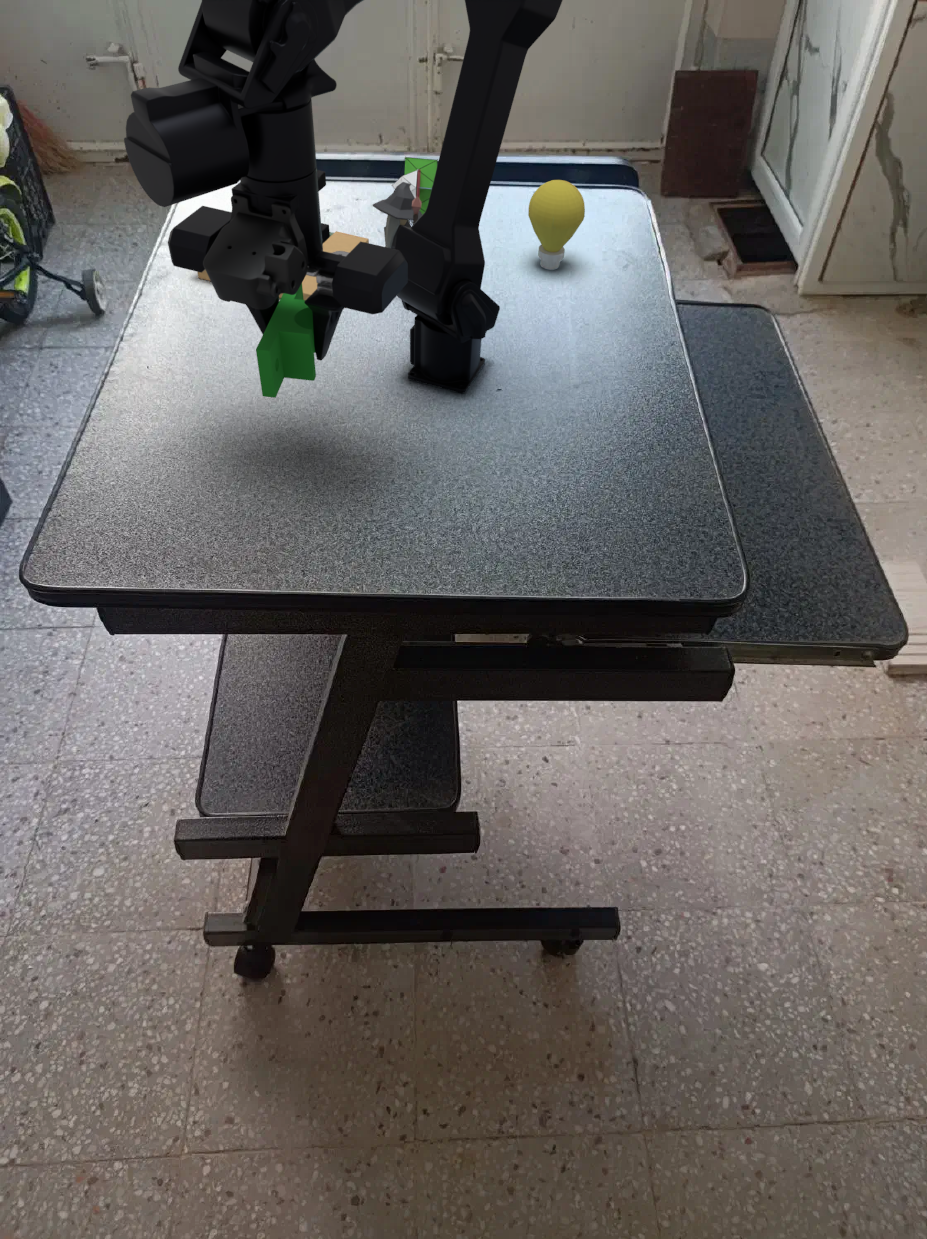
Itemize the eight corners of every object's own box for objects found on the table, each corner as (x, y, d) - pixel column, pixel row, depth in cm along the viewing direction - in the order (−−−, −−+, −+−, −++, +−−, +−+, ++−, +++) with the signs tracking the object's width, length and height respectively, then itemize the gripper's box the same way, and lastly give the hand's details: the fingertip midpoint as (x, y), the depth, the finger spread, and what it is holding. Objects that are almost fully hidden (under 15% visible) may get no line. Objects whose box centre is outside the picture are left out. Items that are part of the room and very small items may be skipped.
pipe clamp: (306, 402, 75) (301, 354, 72) (262, 397, 75) (255, 349, 72) (334, 330, 83) (330, 283, 79) (294, 325, 83) (289, 279, 79)
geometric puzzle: (399, 176, 121) (393, 140, 113) (450, 180, 121) (447, 144, 113) (393, 227, 120) (387, 194, 112) (444, 231, 120) (441, 199, 112)
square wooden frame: (369, 250, 111) (368, 238, 110) (313, 307, 102) (312, 295, 101) (262, 225, 114) (260, 213, 113) (198, 278, 105) (196, 266, 104)
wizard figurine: (366, 278, 107) (362, 174, 98) (401, 263, 109) (400, 160, 100) (413, 305, 103) (414, 200, 94) (448, 289, 106) (452, 186, 97)
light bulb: (538, 246, 114) (547, 165, 106) (585, 262, 112) (598, 179, 104) (513, 267, 110) (520, 184, 103) (561, 284, 108) (573, 200, 100)
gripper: (104, 184, 63) (152, 375, 75) (345, 238, 59) (356, 430, 71) (190, 128, 70) (221, 311, 82) (410, 174, 66) (410, 358, 78)
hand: (297, 351), depth 78 cm, fingers closed on pipe clamp, 4 cm apart
